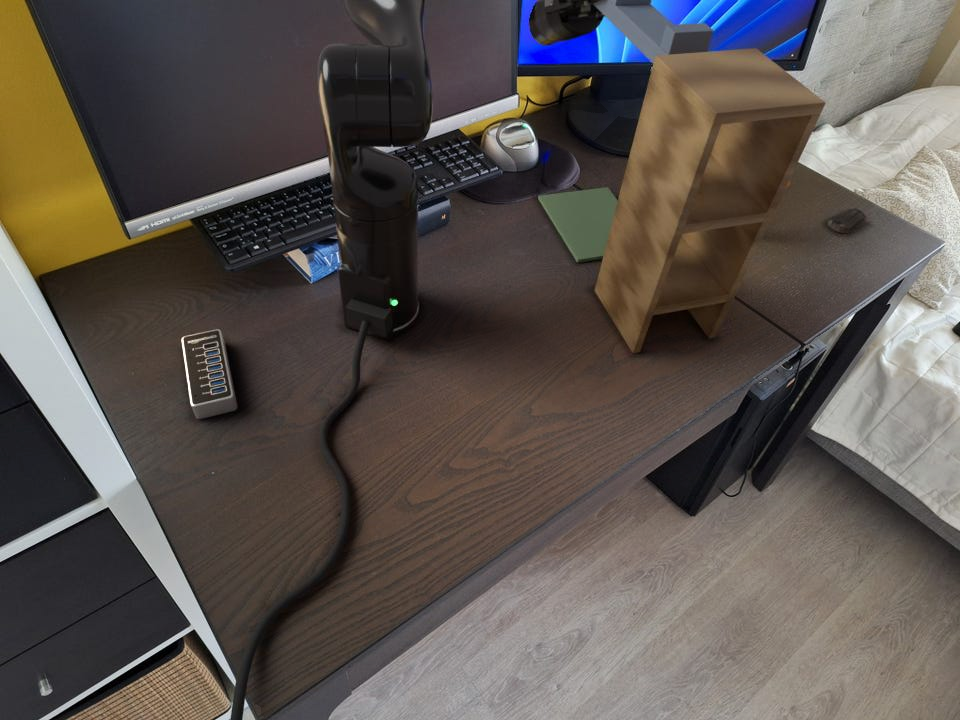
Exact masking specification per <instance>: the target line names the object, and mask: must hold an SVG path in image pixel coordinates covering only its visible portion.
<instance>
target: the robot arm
mask: <svg viewBox="0 0 960 720" xmlns="http://www.w3.org/2000/svg"><path fill="white" fill-rule="evenodd" d="M598 1H600V0H538V1H537V2H536V3H535V5H534V6H533V9H532V12H531V14H530V18H529V26H530V32H531V34H532V36H533V38H534V40H536V42H538V43H539V44H542V45H551V44H553V43H555V44H557V43H559V42H566V41H567V42H568V41H571V40H574V39H578V38H580V37H583V36H587V35H589V34H591V33H593V32H595V30H597V29H598V27H599V26H600V24H602V22H603V20H604V17H605V18H606V16H605V15H604V14H603V13H602V12H601V11H600V10H599V9H598V8H597V7H596V6H595V5H594V4H592V3H596V2H598ZM343 5H344V8H345V10H346V13H347V15H348V18H349V19H350V20H351V22H352V24H353V25H354V27H355V28H356V29H357V30H358V32H359V33H360V34H361V35H362V36H363V37H364V38H365V39H366V40H367V41H368V42H369V43H370V44H358V43H332V44H328V45H326V46H325V47H324V48H323V49H322V51H321V52H320V54H319V57H318V60H317V66H316V92H317V100H318V106H319V107H318V108H319V113H320V119H321V125H322V131H323V135H324V140H325V147H326V152H327V158H328V168H329V175H330V183H331V184H330V185H331V192H332V201H333V211H334V218H335V231H336V239H337V247H338V256H339V264H340V266H339V267H337V274H338V281H339V288H340V289H339V292H340V298H341V299H340V300H341V307H342V315H343V325H344V327H346V328H348V329H351V330H355V331H357V332H358V335H357V338H356V342H355V347H354V350H353V355H352V363H351V369H352V370H351V373H352V374H351V383H350V386H349V388H348V391H347V392H346V394H345V396H344V397H343V398H342V399H341V400H340V401H339V402H338V403H337V404H336V405H335V406H334V407H333V408H332V409H331V410H330V411H329V412H328V413H327V415H326V416H325V417H324V419H323V420H322V422H321V424H320V427H319V430H318V437H317V438H318V446H319V450H320V452H321V454H322V457H323V458H324V459H323V460H324V461H325V462H326V464H327V465H328V467H329V469H330V470H331V471H332V474H333V475H334V477H335V479H336V481H337V483H338V486H339V492H340V519H339V526H338V530H337V532H336V533H337V534H336V537H335V539H334V541H333V544H332V546H331V548H330V550H329V552H328V554H327V556H326V558H325V560H324V561H323V562H322V564H321V565H320V566H319V568H318V569H316V571H314V572H313V574H312V575H310V576H309V577H308V578H307V579H305V580H304V581H303V582H301V583H300V584H298V585H297V586H296V587H294V588H293V589H292V590H290V591H289V592H287V593H285V595H283V596H282V597H281V598H279V599H278V600H277V601H276V602H275V603H273V605H272V606H271V607H270V608H268V610H266V612H265V613H264V615H263V616H262V617H261V618H260V620H259V622H257V625H256V626H255V628H254V629H253V631H252V633H251V635H250V637H249V639H248V642H247V644H246V646H245V647H244V648H245V649H244V652H243V653H242V657H241V660H240V662H239V667H238V669H237V675H236V679H235V684H234V690H233V696H232V703H231V704H232V705H231V712H230V718H229V719H230V720H243V718H244V711H245V702H246V695H247V688H248V682H249V677H250V671H251V668H252V664H253V661H254V658H255V654H256V652H257V650H258V647H259V645H260V643H261V641H262V638H263V637H264V636H265V633H266V632H267V630H268V628H269V627H270V625H271V624H272V622H273V621H274V620H275V618H276V617H277V616H278V615H279V614H280V613H281V612H282V611H283V610H284V609H285V608H287V607H288V606H289V605H290V604H293V602H294V601H296V600H297V599H298V598H300V597H301V596H303V595H305V593H308V591H310V590H311V589H312V588H313V587H315V586H316V585H317V584H319V582H321V581H322V580H323V579H324V578H325V576H327V574H328V573H329V572H330V571H331V569H332V568H333V566H334V564H335V563H336V562H337V559H338V558H339V556H340V554H341V552H342V549H343V547H344V545H345V542H346V539H347V535H348V532H349V528H350V523H351V493H350V492H351V491H350V487H349V483H348V480H347V478H346V475H345V474H344V472H343V470H342V468H341V466H340V464H339V463H338V462H337V460H336V459H335V457H334V456H333V453H332V452H331V449H330V447H329V444H328V443H329V442H328V432H329V429H330V426H331V425H332V423H333V421H334V420H335V419H336V418H337V417H338V416H339V415H340V414H341V413H342V412H343V411H344V410H345V409H346V408H347V407H348V405H349V404H350V403H351V402H352V400H353V399H354V398H355V397H356V395H357V392H358V389H359V387H360V382H361V359H362V354H363V350H364V346H365V342H366V339H367V338H366V337H367V335H370V336H373V337H376V338H379V339H383V340H386V341H389V340H391V338H392V337H393V336H394V335H397V334H399V333H401V332H404V331H406V330H408V328H410V327H412V326H413V324H414V323H415V322H416V321H417V319H418V316H419V313H420V312H419V311H420V303H419V302H420V301H419V184H418V177H417V174H416V172H415V171H414V169H413V167H412V166H411V165H410V164H408V162H406V160H403V159H401V158H400V157H398V156H396V155H394V154H391V153H388V152H386V151H383V150H381V149H378V148H407V147H414V146H417V145H420V144H421V143H422V142H423V141H424V140H425V139H426V138H427V136H428V134H429V132H430V128H431V125H432V120H433V111H434V110H433V109H434V95H433V84H432V73H431V67H430V66H431V65H430V60H429V54H428V46H427V40H426V29H425V27H426V26H425V24H426V23H425V22H426V0H343Z"/></svg>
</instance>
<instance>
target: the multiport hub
mask: <svg viewBox="0 0 960 720" xmlns="http://www.w3.org/2000/svg"><path fill="white" fill-rule="evenodd" d="M181 347H182V354H183V360H184V368H185V373H186V374H185V375H186V381H187V388H188V397H189V403H190V406H191V409H192V411H193V414H194V416H195V418H196V419H197V420H203V419H207V418H210V417H214V416H218V415H223V414H227V413H230V412H235V411H236V410H238V403H237V397H236V392H235V386H234V383H233V377H232V372H231V366H230V361H229V356H228V352H227V346H226V343H225V339H224V336H223V334H222V330H221V329H213V330H207V331H203V332H198V333H193V334H189V335H184V336H183V337H182V338H181Z"/></svg>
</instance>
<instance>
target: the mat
mask: <svg viewBox="0 0 960 720" xmlns="http://www.w3.org/2000/svg"><path fill="white" fill-rule="evenodd" d="M537 199H538V201H539V202H540V204H541V206H542V208H543V210H544V211H545V212H546V214H547V215H548V217H549V219H550V220H551V222H552V223H553V225H554V227H555V229H556V230H557V232H558V234H559V235H560V237H561V238H562V240H563V242H564V244H565V245H566V246H567V248H568V250H569V251H570V253H571V255H572V256H573V258H574V260H575V262H576V263H577V264H578V263H585V262H591V261H596V260H597V261H599V260H603V256H604V252H605V248H606V244H607V241H608V237H609V233H610V229H611V225H612V221H613V217H614V214H615V210H616V206H617V202H618V198H616V196H615V195H614V193H613V192H612V191H611V189H610V188H609V187H608V186H605V187H598V188H597V187H596V188H590V189H581V190H574V191H565V192H558V193H549V194H542V195H538V198H537Z"/></svg>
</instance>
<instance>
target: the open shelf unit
mask: <svg viewBox="0 0 960 720" xmlns="http://www.w3.org/2000/svg"><path fill="white" fill-rule="evenodd" d="M650 71H651V72H650V75H649V79H648V82H647V87H646V90H645V95H644V99H643V102H642V107H641V110H640V114H639V117H638V121H637V124H636V125H637V126H636V128H635V133H634V137H633V141H632V145H631V147H630V152H629V156H628V160H627V164H626V167H625V172H624V176H623V179H622V183H621V187H620V191H619V193H618V198H617V200H618V202H617V206H616V210H615V214H614V217H613V221H612V225H611V229H610V233H609V237H608V241H607V244H606V248H605V252H604V256H603V259H601V264H600V268H599V273H598V276H597V280H596V283H595V287H594V293H595V294H596V295H597V297H598V299H599V301H600V303H601V304H602V306H603V307H604V308H605V310H606V312H607V314H608V315H609V317H610V318H611V320H612V322H613V323H614V326H615V327H616V328H617V331H618V332H619V333H620V335H621V336H622V338H623V340H624V341H625V343H626V344H627V346H628V348H629V350H630V351H631V352H632V354H637V353H640V352H641V349H642V347H643V344H644V342H645V338H646V335H647V332H648V330H649V327H650V325H651V322H652V319H653V317H654V316H657V315H663V314H667V313H673V312H679V311H683V310H687V311H689V313H690V314H691V316H692V317H693V319H694V320H695V321H696V323H697V324H698V325H699V327H700V328H701V329H702V331H703V332H704V334H705V335H706V336H707V338H708V339H712V338H716V337H717V335H718V333H719V330H720V328H721V326H722V324H723V322H724V320H725V317H726V316H727V313H728V312H729V309H730V308H731V305H732V303H733V301H734V299H735V297H736V294H737V292H738V290H739V288H740V287H741V284H742V282H743V281H744V280H743V279H744V278H745V275H746V273H747V271H748V269H749V267H750V264H751V263H752V261H753V259H754V257H755V254H756V252H757V250H758V248H759V246H760V243H761V241H762V240H763V238H764V235H765V233H766V231H767V229H768V227H769V224H770V223H771V220H772V218H773V217H774V214H775V212H776V209H777V208H778V206H779V203H780V201H781V199H782V197H783V195H784V193H785V191H786V190H787V189H786V186H787V184H788V182H790V180H791V178H792V176H793V173H794V171H795V170H796V167H797V165H798V164H799V161H800V158H801V156H802V154H803V152H804V151H805V149H806V147H807V144H808V142H809V141H810V137H811V136H812V133H813V131H814V129H815V127H816V125H817V123H818V120H819V119H820V116H821V113H822V112H823V111H824V108H825V106H826V104H827V102H826V101H825V100H824V99H822V98H821V97H820V96H818V95H817V94H816V93H815V92H813V91H812V90H810V89H809V88H808V87H807V86H806V85H804V84H803V83H802V82H801V81H799V80H798V79H796V78H795V77H794V76H792V75H791V74H790V73H789V72H787V71H786V70H785V69H784V68H782V67H781V66H780V65H779V64H777V63H776V62H774V61H773V60H772V59H771V58H769V57H768V56H766V54H764V53H763V52H762V51H760V50H759V49H758V48H757V47H755V48H740V49H726V50H713V51H707V52H698V53H684V54H671V55H657V56H655V60H654V64H653V63H652V67H651V70H650Z"/></svg>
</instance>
